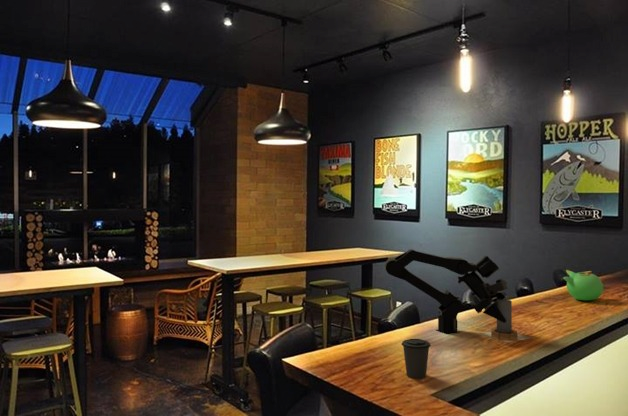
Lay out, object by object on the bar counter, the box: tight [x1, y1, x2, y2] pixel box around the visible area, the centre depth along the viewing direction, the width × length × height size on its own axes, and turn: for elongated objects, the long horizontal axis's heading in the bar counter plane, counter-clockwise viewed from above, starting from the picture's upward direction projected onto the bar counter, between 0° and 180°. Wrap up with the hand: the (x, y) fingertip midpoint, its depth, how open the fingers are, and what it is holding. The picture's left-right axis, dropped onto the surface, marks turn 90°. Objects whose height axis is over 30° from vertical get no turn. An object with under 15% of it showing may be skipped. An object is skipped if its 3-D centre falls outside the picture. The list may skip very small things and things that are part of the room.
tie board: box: [478, 327, 532, 344], centre depth 174 cm, size 13×13×2 cm
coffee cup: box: [401, 338, 431, 380], centre depth 135 cm, size 8×8×10 cm
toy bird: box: [563, 269, 604, 302], centre depth 238 cm, size 18×17×15 cm
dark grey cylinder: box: [496, 299, 513, 334], centre depth 172 cm, size 5×5×13 cm
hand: (508, 320), depth 171 cm, fingers closed on dark grey cylinder, 5 cm apart
